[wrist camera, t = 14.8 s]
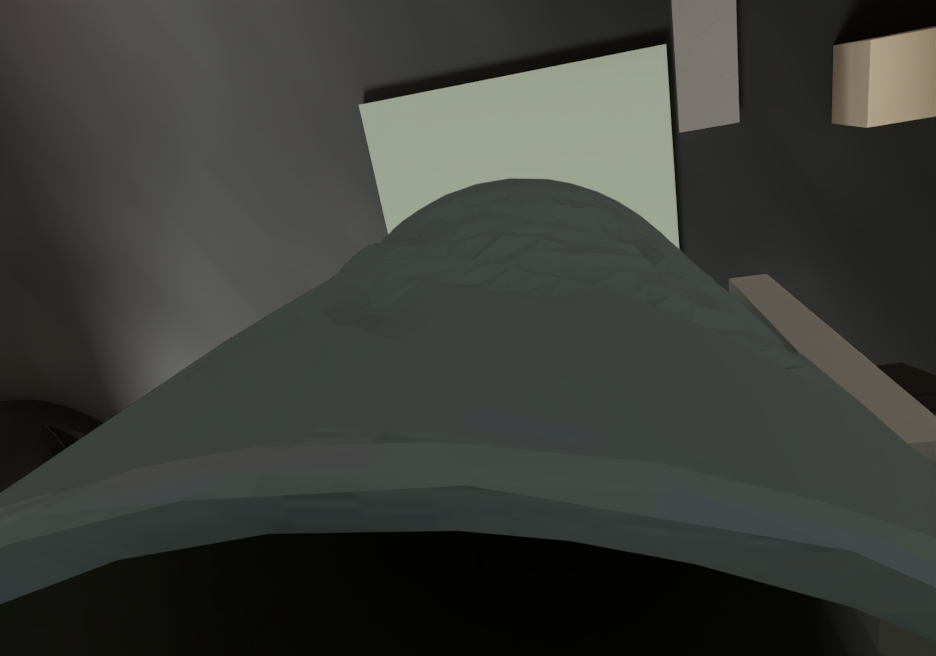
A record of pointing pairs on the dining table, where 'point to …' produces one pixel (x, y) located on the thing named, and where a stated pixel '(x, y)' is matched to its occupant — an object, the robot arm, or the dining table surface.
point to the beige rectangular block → (885, 79)
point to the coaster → (534, 136)
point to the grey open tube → (485, 470)
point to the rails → (704, 63)
